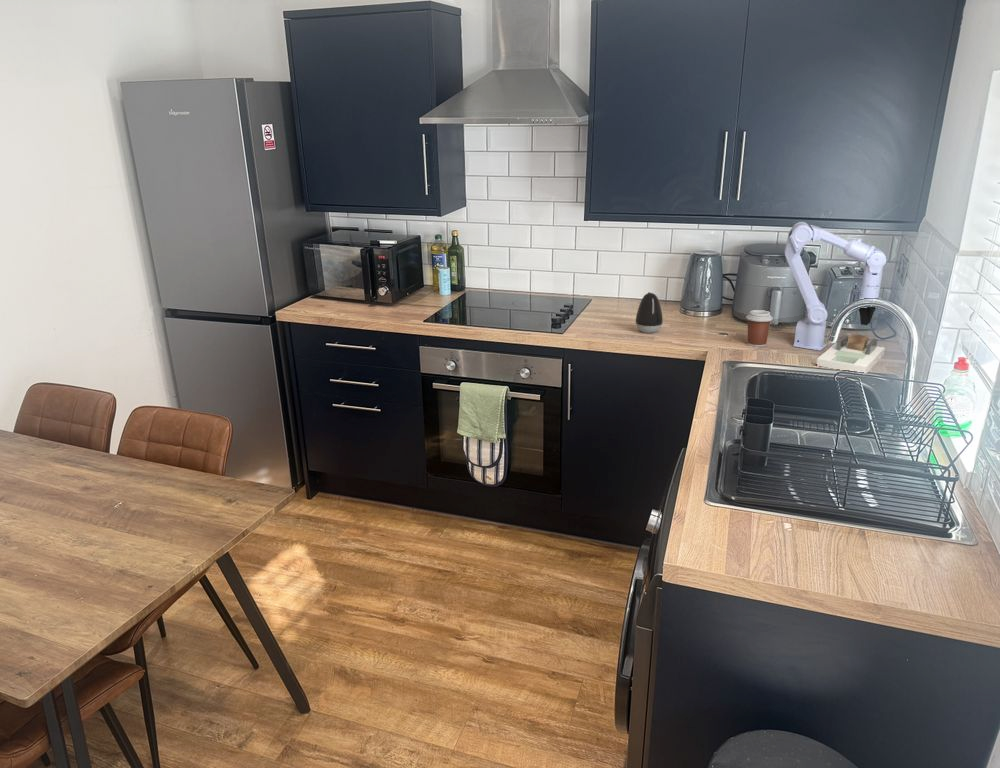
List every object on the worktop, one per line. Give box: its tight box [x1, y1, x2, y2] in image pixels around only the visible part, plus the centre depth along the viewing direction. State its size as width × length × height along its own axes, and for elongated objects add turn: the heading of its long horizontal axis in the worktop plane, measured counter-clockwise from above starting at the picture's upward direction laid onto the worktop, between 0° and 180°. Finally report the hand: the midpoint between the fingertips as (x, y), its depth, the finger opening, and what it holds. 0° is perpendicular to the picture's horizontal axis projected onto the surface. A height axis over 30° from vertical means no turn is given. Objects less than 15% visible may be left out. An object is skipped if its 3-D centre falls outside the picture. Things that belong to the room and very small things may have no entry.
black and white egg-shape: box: [635, 292, 664, 334], centre depth 282 cm, size 10×10×15 cm
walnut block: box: [847, 333, 869, 351], centre depth 250 cm, size 5×5×4 cm
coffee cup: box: [745, 309, 774, 348], centre depth 264 cm, size 9×9×12 cm
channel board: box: [815, 341, 886, 374], centre depth 246 cm, size 15×26×2 cm, turn 142°
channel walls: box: [836, 334, 878, 355], centre depth 249 cm, size 10×10×3 cm
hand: (865, 323), depth 254 cm, fingers open, 2 cm apart
